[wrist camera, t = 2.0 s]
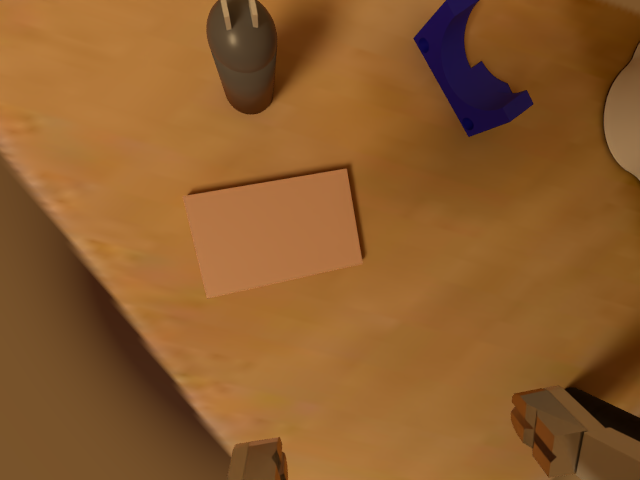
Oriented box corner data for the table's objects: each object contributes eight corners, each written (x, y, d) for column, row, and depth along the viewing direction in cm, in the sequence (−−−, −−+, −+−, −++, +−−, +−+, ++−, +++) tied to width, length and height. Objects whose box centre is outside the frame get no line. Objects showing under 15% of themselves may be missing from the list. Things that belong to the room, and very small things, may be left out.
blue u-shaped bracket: (497, 115, 34) (545, 95, 29) (467, 137, 34) (509, 121, 28) (445, 16, 32) (485, -27, 26) (412, 39, 32) (446, 0, 26)
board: (344, 169, 32) (346, 168, 31) (359, 262, 33) (362, 263, 32) (185, 196, 29) (182, 196, 28) (208, 295, 30) (207, 298, 29)
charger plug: (268, 62, 29) (270, -42, 17) (277, 111, 30) (286, 43, 18) (219, 67, 29) (187, -38, 16) (230, 117, 29) (206, 51, 17)
